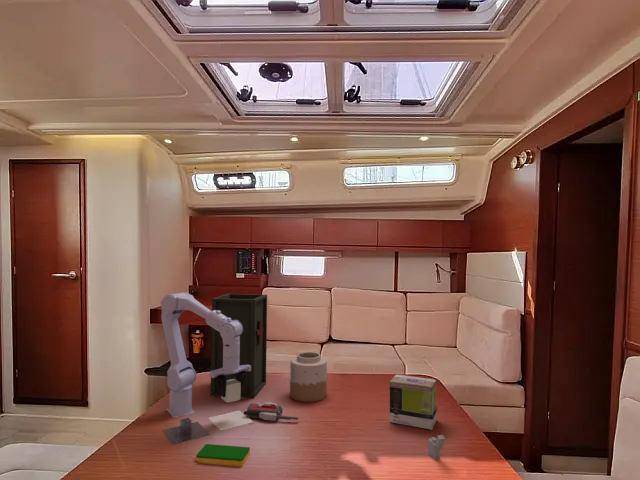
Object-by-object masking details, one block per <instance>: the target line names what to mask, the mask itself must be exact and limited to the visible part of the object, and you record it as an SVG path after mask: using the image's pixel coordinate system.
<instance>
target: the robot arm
mask: <svg viewBox="0 0 640 480" xmlns="http://www.w3.org/2000/svg"><path fill="white" fill-rule="evenodd" d="M160 307H161V316H160V317H161V322H162V326H163V333H164V336H165V337H164V338H165V342H166V346H167V347H166V348H167V351H168V356H169V359H170V366H169V368H168V370H167V373H166V374H167V379H166V382H167V384H166V385H167V387H168V388H169V401H168V402H169V404H168V407H169V408H166V411H167V413H169V414H170V415H171V417H172V418H178V417H183V416H188V415H192V414H196V411H195V410H194V409H193V408H192V407H193V404H192V403H193V387H194V383H195V381H197V372H196V370H195V369H194V367H193V364H192V362H190V361H189V360H187V356H186V351H185V348H184V342H183V337H182V334H181V330H180V329H181V328H180V325H179V320H178V319H179V317H181V315H182V313H184V312H185V310H188V311H191V312H192V313H194V314H196V315H198V316H200V317H202V318H203V319H205V323H206V325H208V326H210V327H211V329H212V328H214V329H215V330H217V331H219V332H220V335H221V337H222V338H223V368H220V369H217V370H213V371H211V370H210V371H209V372H210V374H209V377H210V379H211V378H216V380H217V382H218V384H219V387H220V391H221V396H222V397H225V394H226V381H227V379H226V378H225V376H224V375H228V374H234V373H235V375H236V380H238V381H239V382H241V388H242V385H243V382H244V380H245V378H246V377H247V373H245V372H246V371H251V365H239V360H240V336H239V335H241V334H242V332H243V326H242V324H241V323H240V322H239V321H238V320H231V318H228V317H226V316H224V315H223V314H221V311H219V310H218V311H217V310H213V311H212V309H211V310H210V309H209V308H208V307H206V305H204V304H202V303H201V302H199V301H198V300H197V299H195V298H194V295H193V294H190V293H188V292H187V291H183V292H178V293H171V294H170V293H167V294H166V295H165V296H163V298H162V299H161V301H160Z"/></svg>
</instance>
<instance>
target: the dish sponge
mask: <svg viewBox="0 0 640 480" xmlns="http://www.w3.org/2000/svg"><path fill="white" fill-rule="evenodd" d="M250 451H251V447H248V446H239V445H238V446H237V445H224V444H223V445H222V444H209V443H206V444H204V446H203V447H202V448H201V449H200V450H199V451H198V453H196V455H195V456H196V458H195V460H196V463H199V464H208V465H210V464H211V465H221V466H223V465H224V466H232V465H235V466H234V467H243V466H244V465H245V463H246V462H247V460H248V458H249V456H250V454H251V452H250ZM243 464H244V465H243ZM236 465H237V466H236Z"/></svg>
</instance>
